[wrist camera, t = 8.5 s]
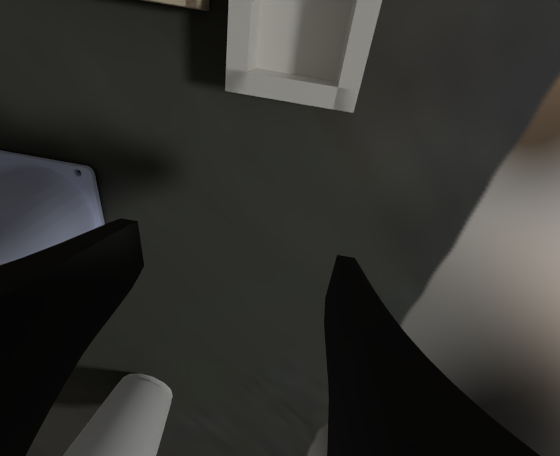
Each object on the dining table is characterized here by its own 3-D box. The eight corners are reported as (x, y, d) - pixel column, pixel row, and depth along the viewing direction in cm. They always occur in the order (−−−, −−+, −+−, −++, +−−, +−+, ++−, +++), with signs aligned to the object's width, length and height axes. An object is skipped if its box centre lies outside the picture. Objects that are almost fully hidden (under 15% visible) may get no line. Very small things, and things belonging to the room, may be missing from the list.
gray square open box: (238, 83, 18) (224, 90, 15) (248, -66, 14) (232, -89, 12) (348, 102, 18) (353, 112, 15) (384, -44, 14) (398, -63, 12)
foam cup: (150, 417, 40) (85, 561, 29) (92, 379, 37) (-6, 525, 26) (201, 400, 36) (148, 557, 25) (141, 355, 33) (51, 514, 22)
